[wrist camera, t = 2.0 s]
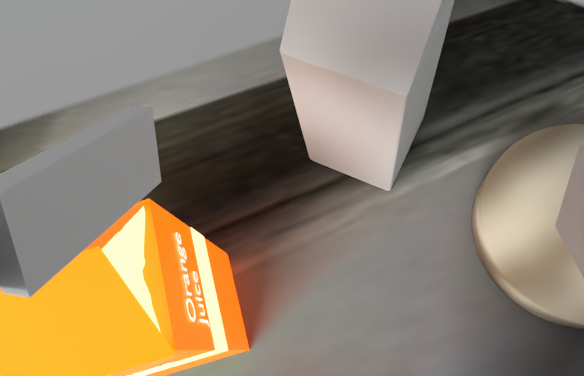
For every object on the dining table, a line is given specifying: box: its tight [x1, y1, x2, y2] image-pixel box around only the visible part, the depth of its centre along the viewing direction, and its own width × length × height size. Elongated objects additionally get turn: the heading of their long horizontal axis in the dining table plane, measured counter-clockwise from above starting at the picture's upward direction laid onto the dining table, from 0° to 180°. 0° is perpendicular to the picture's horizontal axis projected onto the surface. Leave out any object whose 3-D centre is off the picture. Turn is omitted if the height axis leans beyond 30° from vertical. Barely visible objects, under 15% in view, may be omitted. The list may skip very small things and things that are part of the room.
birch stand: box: [471, 124, 584, 329], centre depth 32 cm, size 14×14×3 cm
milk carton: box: [280, 0, 454, 191], centre depth 30 cm, size 7×7×19 cm
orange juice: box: [0, 199, 250, 376], centre depth 26 cm, size 8×9×20 cm
